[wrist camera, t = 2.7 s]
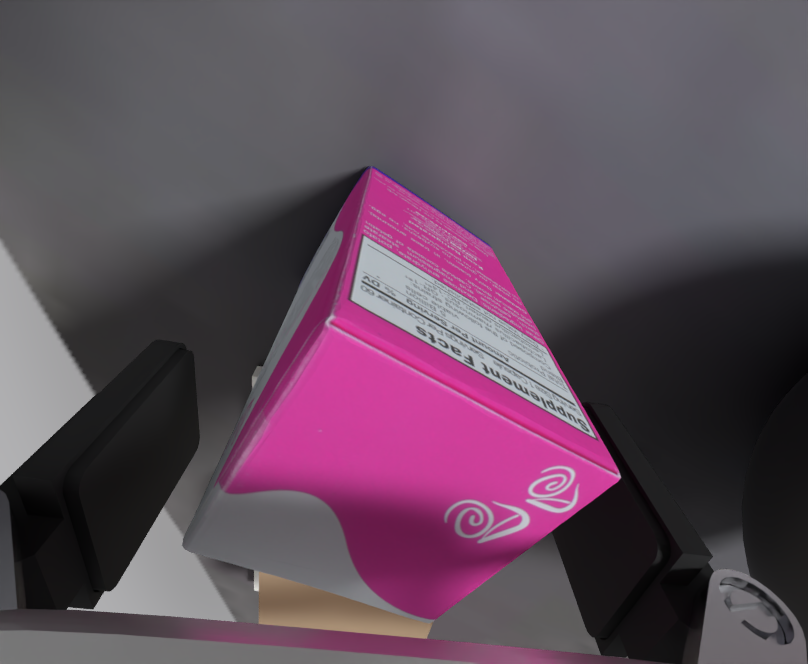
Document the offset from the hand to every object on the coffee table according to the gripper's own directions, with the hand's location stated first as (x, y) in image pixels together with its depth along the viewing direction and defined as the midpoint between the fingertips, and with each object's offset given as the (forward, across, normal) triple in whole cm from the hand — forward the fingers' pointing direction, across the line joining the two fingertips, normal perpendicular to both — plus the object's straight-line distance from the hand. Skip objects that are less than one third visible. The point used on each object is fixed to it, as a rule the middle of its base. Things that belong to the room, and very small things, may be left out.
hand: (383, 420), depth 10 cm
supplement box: (+8, 0, -1) cm, 8 cm away
